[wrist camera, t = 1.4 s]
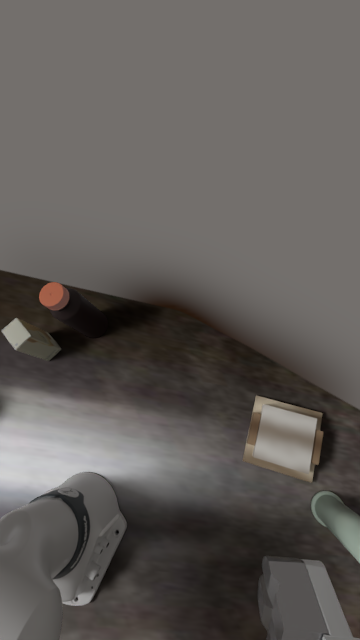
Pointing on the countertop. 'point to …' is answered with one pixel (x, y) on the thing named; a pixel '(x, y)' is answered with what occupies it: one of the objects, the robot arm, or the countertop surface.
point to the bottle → (73, 310)
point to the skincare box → (31, 340)
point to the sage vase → (338, 520)
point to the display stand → (284, 438)
